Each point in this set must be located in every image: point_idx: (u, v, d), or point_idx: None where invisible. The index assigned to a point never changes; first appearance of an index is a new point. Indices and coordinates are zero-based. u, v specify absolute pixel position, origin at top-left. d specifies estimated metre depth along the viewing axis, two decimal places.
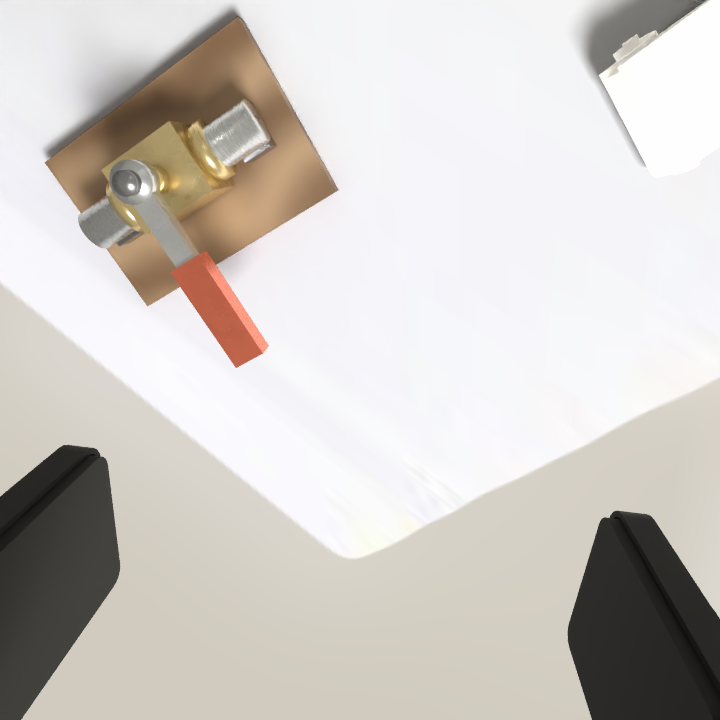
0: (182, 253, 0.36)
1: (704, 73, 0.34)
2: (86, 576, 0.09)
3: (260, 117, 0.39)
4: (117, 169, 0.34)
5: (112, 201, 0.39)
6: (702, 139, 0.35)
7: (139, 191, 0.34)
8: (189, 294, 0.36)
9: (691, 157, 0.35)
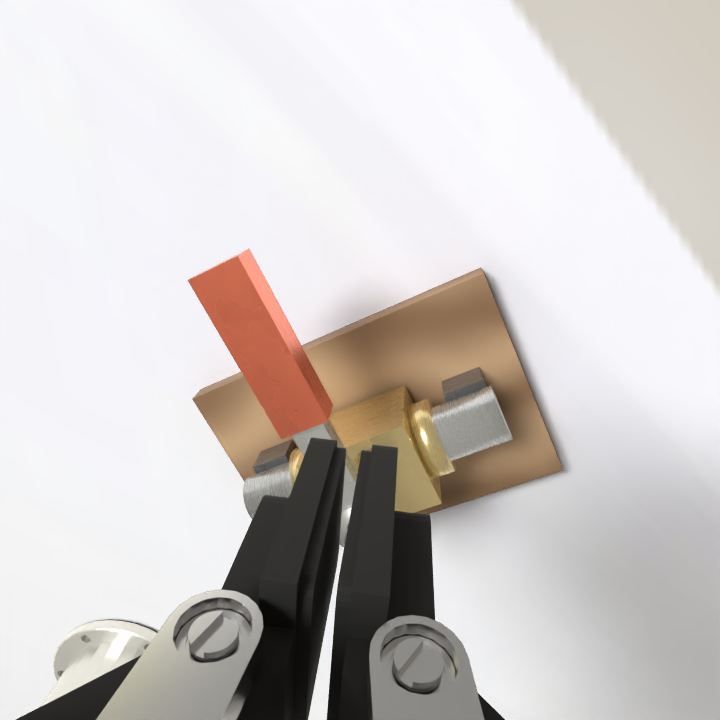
0: (308, 439, 0.24)
1: None
2: (334, 557, 0.10)
3: None
4: None
5: (442, 464, 0.28)
6: None
7: None
8: (302, 386, 0.23)
9: None
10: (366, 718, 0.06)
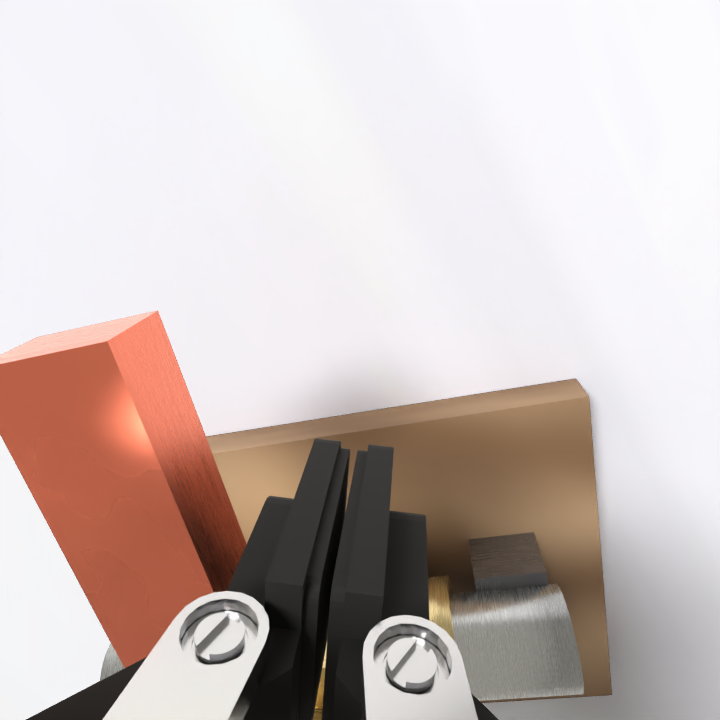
0: None
1: None
2: None
3: None
4: None
5: None
6: None
7: None
8: None
9: None
10: (360, 718, 0.06)
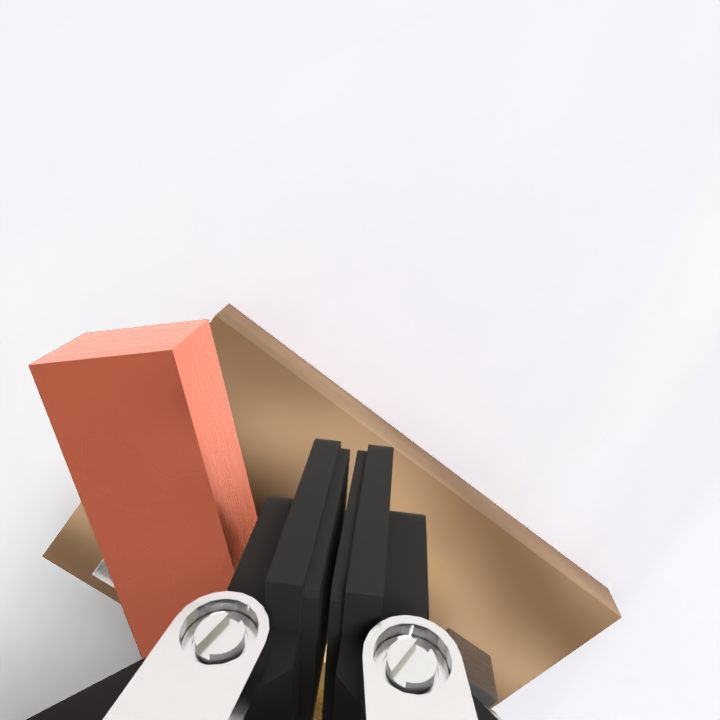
0: None
1: None
2: None
3: None
4: None
5: None
6: None
7: None
8: None
9: None
10: (359, 718, 0.06)
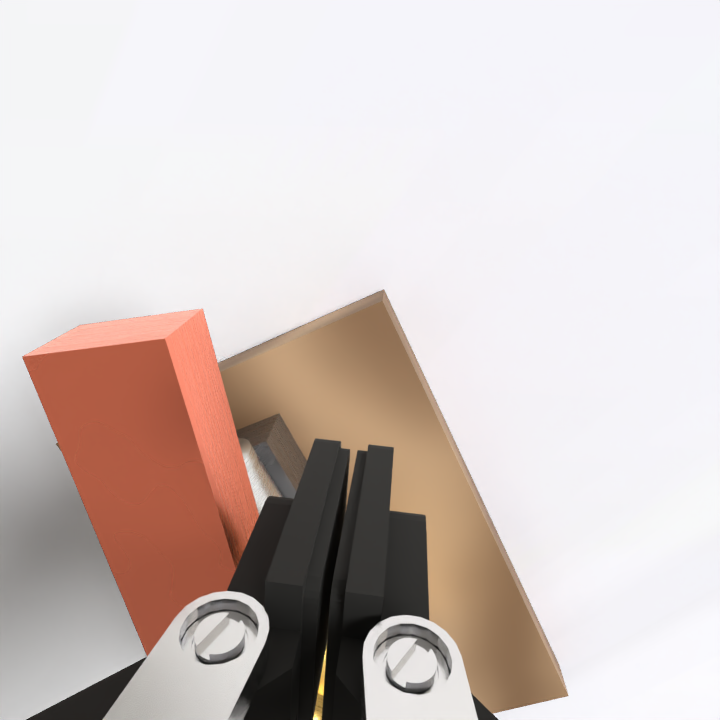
0: None
1: None
2: None
3: None
4: None
5: None
6: None
7: None
8: None
9: None
10: (359, 718, 0.06)
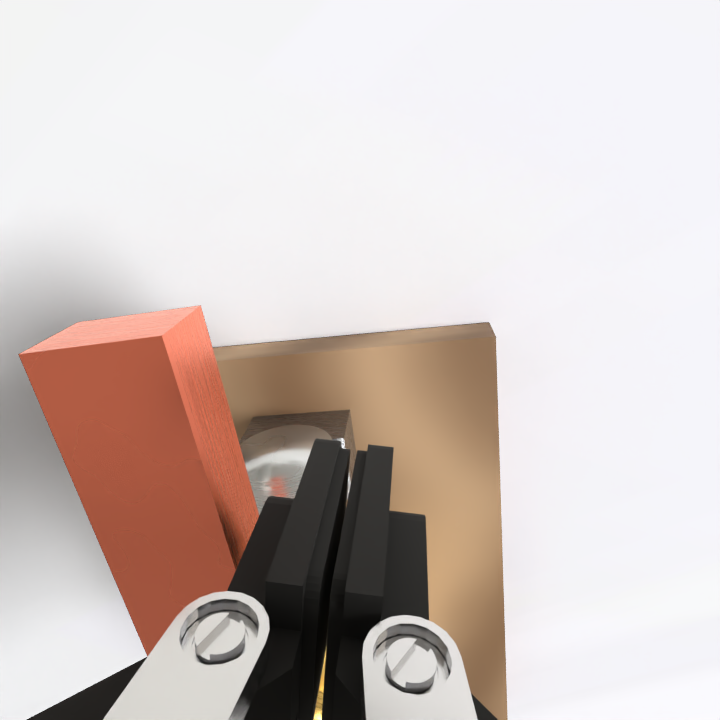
0: None
1: None
2: None
3: (282, 426, 0.18)
4: None
5: None
6: None
7: None
8: None
9: None
10: (359, 718, 0.06)
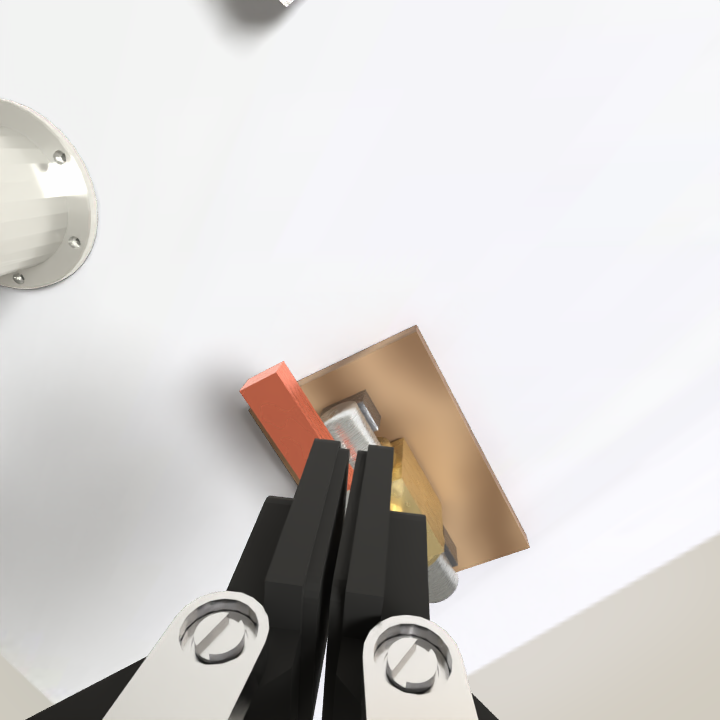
0: None
1: None
2: None
3: (335, 406, 0.37)
4: None
5: None
6: None
7: None
8: None
9: None
10: (360, 718, 0.06)
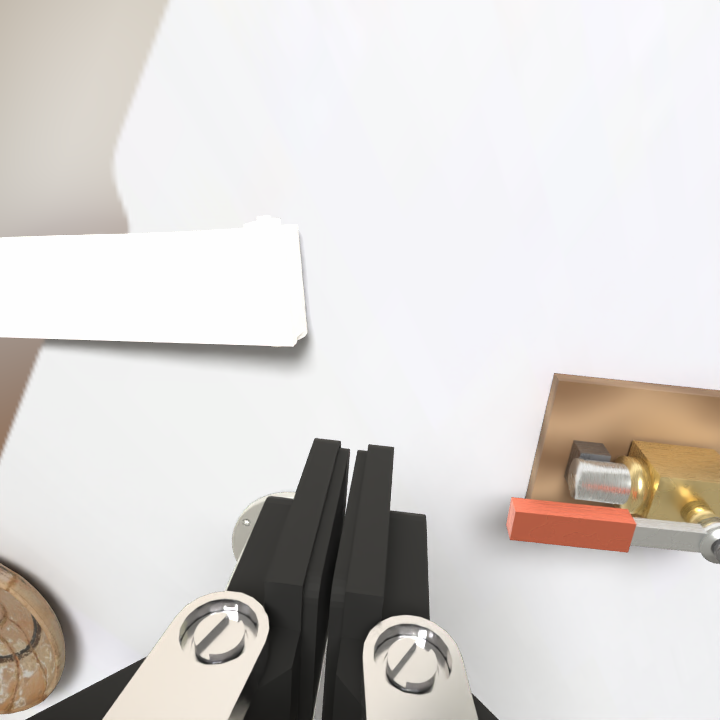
0: (639, 538, 0.36)
1: (236, 299, 0.39)
2: None
3: (569, 471, 0.43)
4: None
5: None
6: (253, 249, 0.37)
7: (711, 550, 0.35)
8: (606, 524, 0.35)
9: (267, 240, 0.36)
10: (360, 718, 0.06)
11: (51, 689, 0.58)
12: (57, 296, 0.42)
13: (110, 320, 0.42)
